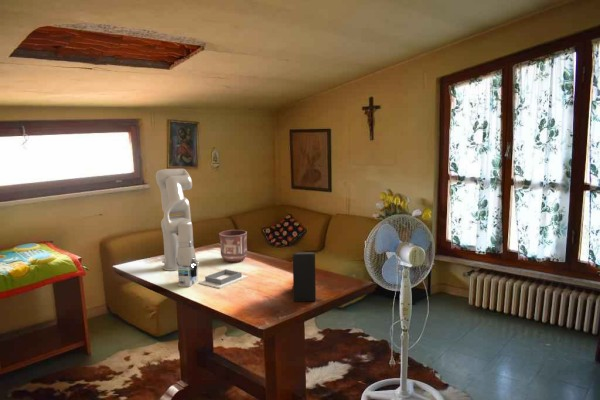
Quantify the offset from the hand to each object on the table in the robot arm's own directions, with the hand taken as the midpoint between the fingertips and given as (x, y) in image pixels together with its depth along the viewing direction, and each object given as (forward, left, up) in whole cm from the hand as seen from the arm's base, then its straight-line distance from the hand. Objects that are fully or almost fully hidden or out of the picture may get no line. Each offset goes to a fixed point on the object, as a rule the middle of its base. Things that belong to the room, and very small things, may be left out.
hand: (187, 275), depth 243 cm
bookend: (+61, +21, -5) cm, 65 cm away
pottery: (-10, +47, -5) cm, 49 cm away
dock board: (+13, +14, -5) cm, 19 cm away
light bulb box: (0, 0, -5) cm, 5 cm away
